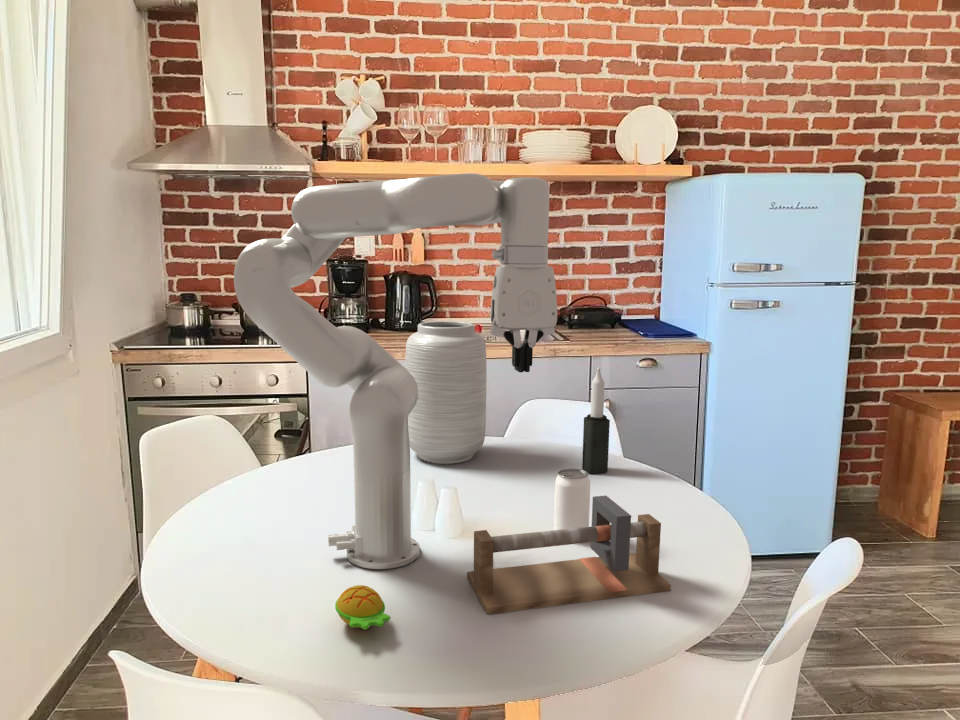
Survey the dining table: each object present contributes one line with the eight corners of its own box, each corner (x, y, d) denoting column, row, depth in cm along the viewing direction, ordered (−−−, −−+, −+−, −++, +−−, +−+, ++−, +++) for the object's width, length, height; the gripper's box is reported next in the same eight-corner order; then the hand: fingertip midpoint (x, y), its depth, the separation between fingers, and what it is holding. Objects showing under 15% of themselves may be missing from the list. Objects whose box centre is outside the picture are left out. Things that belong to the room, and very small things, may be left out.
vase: (452, 440, 197) (453, 317, 191) (501, 457, 181) (504, 325, 176) (390, 453, 184) (388, 323, 178) (437, 473, 169) (437, 331, 163)
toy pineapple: (374, 605, 108) (374, 572, 107) (398, 638, 99) (397, 602, 98) (329, 616, 105) (328, 581, 104) (349, 651, 96) (348, 613, 95)
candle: (580, 468, 174) (584, 366, 169) (599, 466, 175) (603, 365, 171) (589, 474, 169) (593, 370, 165) (609, 473, 170) (613, 369, 166)
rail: (487, 614, 106) (487, 552, 104) (467, 577, 117) (467, 521, 115) (670, 590, 113) (673, 532, 112) (635, 558, 125) (637, 505, 123)
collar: (614, 571, 112) (616, 516, 110) (590, 547, 120) (592, 496, 119) (628, 570, 112) (631, 515, 111) (603, 546, 121) (606, 495, 120)
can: (587, 543, 131) (589, 480, 129) (551, 540, 132) (553, 477, 130) (589, 529, 137) (591, 469, 135) (555, 526, 138) (557, 466, 136)
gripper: (485, 258, 109) (484, 376, 112) (576, 258, 113) (573, 373, 116) (472, 256, 116) (472, 368, 119) (559, 257, 120) (556, 365, 123)
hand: (521, 370), depth 118 cm, fingers closed
